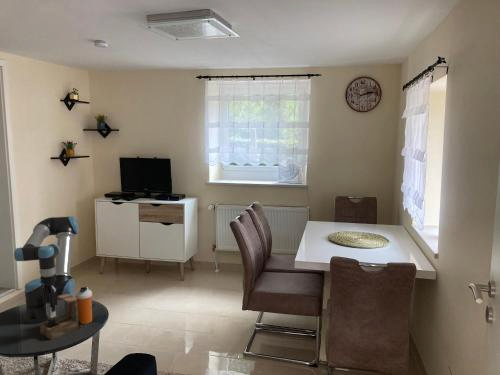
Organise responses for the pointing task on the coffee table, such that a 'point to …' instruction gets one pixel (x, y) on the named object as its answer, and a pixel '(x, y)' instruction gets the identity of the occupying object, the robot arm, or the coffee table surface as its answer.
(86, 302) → the shaker bottle
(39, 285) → the robot arm
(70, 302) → the socket block
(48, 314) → the peg
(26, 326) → the coffee table surface
